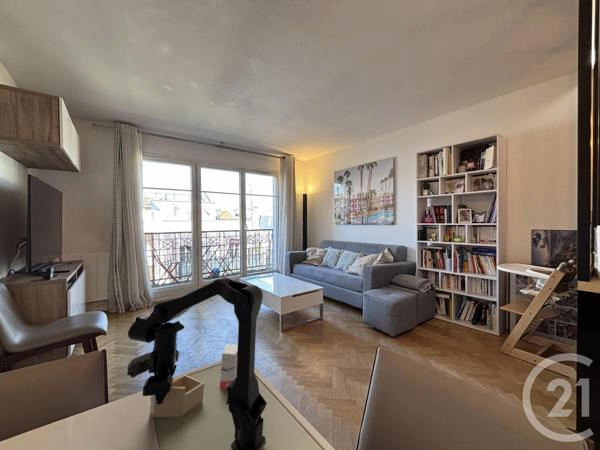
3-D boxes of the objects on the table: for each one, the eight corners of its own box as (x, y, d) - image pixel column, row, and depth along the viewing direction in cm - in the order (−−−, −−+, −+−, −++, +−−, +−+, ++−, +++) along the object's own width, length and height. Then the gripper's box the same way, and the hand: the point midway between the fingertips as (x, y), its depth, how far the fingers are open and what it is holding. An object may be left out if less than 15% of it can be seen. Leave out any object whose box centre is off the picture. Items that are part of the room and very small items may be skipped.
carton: (202, 402, 78) (204, 383, 79) (184, 415, 72) (185, 394, 73) (183, 393, 82) (184, 374, 83) (164, 404, 76) (165, 384, 77)
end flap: (183, 414, 73) (185, 386, 73) (181, 418, 71) (184, 389, 72) (151, 414, 72) (153, 385, 72) (148, 418, 70) (151, 388, 71)
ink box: (233, 389, 86) (235, 354, 87) (218, 388, 86) (221, 353, 87) (238, 375, 95) (240, 343, 96) (225, 375, 95) (227, 343, 95)
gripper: (141, 333, 77) (137, 384, 77) (120, 365, 60) (115, 431, 59) (180, 330, 81) (177, 379, 81) (172, 360, 64) (167, 422, 63)
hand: (160, 399), depth 71 cm, fingers open, 3 cm apart
